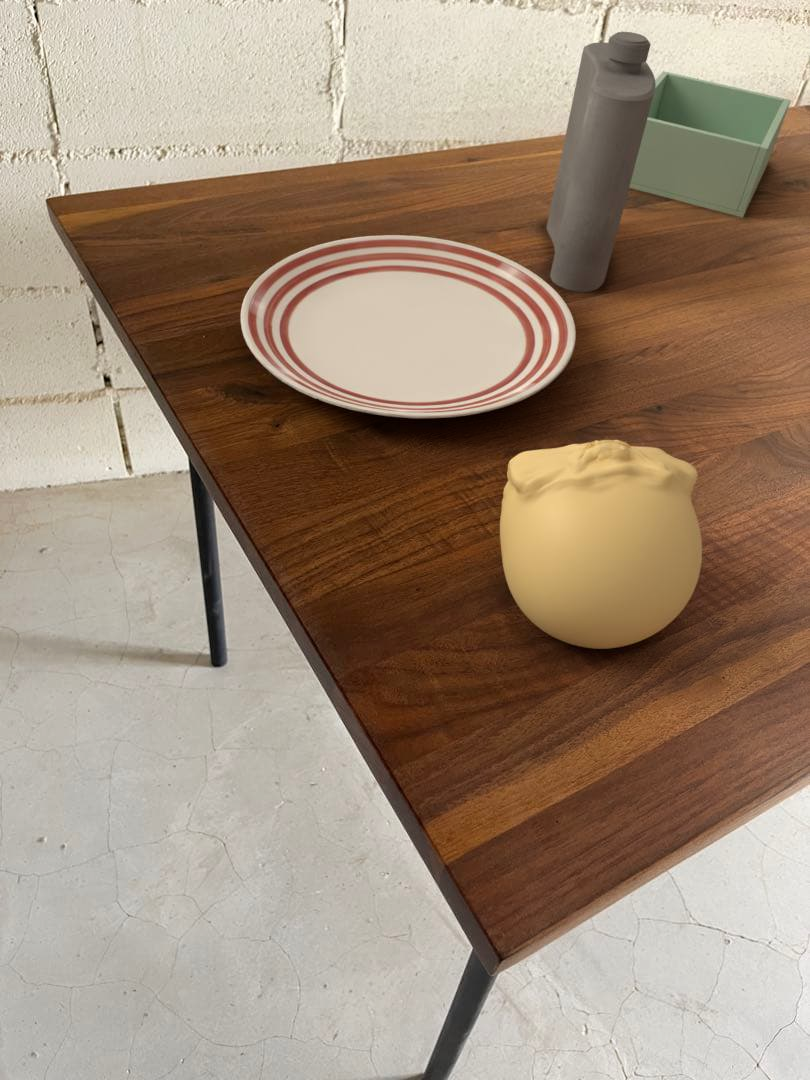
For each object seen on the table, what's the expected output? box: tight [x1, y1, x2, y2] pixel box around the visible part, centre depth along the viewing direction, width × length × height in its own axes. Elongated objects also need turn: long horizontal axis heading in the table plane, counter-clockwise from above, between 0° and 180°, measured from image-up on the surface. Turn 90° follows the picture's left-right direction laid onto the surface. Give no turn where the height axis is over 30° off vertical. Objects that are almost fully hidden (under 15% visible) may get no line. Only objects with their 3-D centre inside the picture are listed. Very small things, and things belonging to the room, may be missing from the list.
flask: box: [545, 31, 656, 293], centre depth 82 cm, size 15×6×20 cm, turn 176°
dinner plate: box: [240, 234, 577, 419], centre depth 74 cm, size 28×27×3 cm
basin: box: [629, 70, 792, 218], centre depth 103 cm, size 16×18×8 cm
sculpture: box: [499, 439, 703, 650], centre depth 52 cm, size 12×12×11 cm
